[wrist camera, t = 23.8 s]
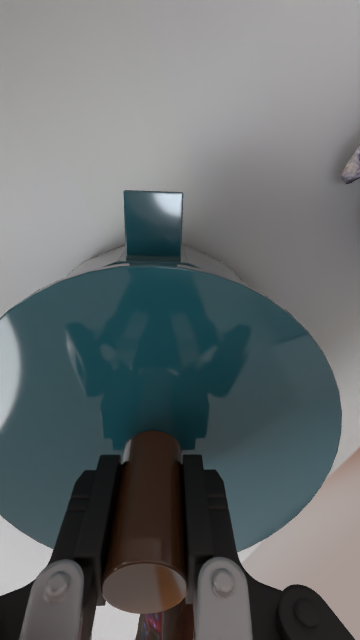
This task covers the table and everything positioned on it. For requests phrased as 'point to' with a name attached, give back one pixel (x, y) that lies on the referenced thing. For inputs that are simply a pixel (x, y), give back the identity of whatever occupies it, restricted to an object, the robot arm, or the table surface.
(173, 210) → the pot
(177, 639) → the figurine
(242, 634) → the robot arm
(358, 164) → the seashell
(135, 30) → the table surface
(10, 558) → the table surface
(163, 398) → the lid
